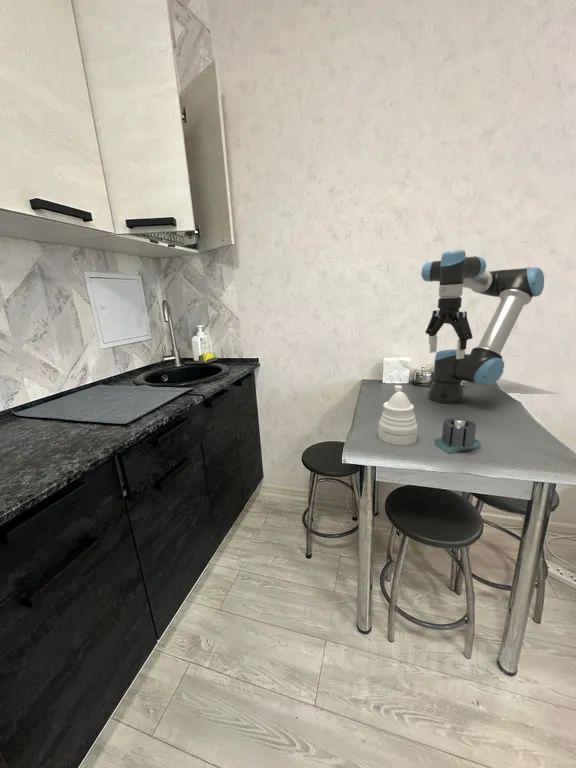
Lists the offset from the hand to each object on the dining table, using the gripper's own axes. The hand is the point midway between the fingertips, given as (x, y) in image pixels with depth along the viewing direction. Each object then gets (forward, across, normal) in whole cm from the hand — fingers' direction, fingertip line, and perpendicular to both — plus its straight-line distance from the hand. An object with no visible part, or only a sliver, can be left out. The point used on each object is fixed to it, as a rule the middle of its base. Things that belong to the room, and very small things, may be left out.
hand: (445, 355), depth 119 cm
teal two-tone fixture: (+25, +22, -13) cm, 35 cm away
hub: (+23, +22, -13) cm, 34 cm away
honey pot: (+25, +9, -27) cm, 37 cm away
